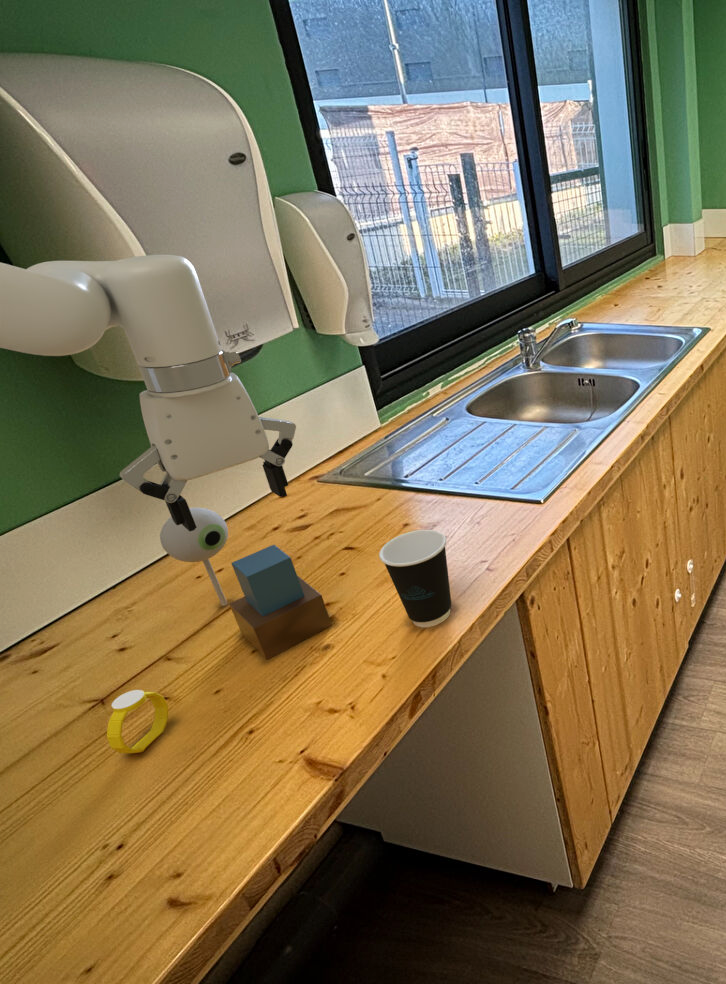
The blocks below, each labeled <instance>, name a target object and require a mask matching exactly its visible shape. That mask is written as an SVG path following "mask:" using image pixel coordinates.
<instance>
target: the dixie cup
mask: <svg viewBox="0 0 726 984" xmlns="http://www.w3.org/2000/svg"><path fill="white" fill-rule="evenodd" d="M446 545H447V537H446V536H445V534H444V533H443V532H441V531H438V530H434V529H416V530H412V531H409V532H404V533H402V534H399V535H397V536H395V537H393V538H392V539H390V540H389V541H387V542H386V543H385V544H384V545H383V546H382V547H381V548H380V550H379V554H378V556H379V560H380V561H381V562H382V563H383V564H384V566H385V568H386V570H387V572H388V574H389V576H390V579H391V581H392V583H393V585H394V588H395V590H396V592H397V594H398V597H399V599H400V602H401V603H402V605H403V608H404V609H405V612H406V614H407V617H408V618H409V619H410V620H411V621H412V623H413V625H415V626H416V627H419V628H431V627H434V626H437V625H439V624H441V623H444V621H446V620H447V619H448V618H449V616H450V615H451V607H452V597H451V587H450V579H449V577H450V576H449V569H448V562H447V550H446Z"/></svg>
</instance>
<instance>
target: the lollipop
mask: <svg viewBox="0 0 726 984" xmlns="http://www.w3.org/2000/svg"><path fill="white" fill-rule="evenodd" d="M189 509H190V512H191V514H192V517H193V519H194V522H195V524H196V527H197V528H195V530H193V531H188V530H187V529H186V528H185V527H184V526H183V525H182V524H180V525H176V524H175V523H174V521H173V519H172V517H171V516H169V518H167V520H166V521H165V522H164V524H163V525H162V527H161V530H160V534H159V540H160V544H161V547H162V549H163V550H164V551H165V553H166V554H168V555H169V556H170V557H171V558H173V559H175V560H178V561H180V562H185V563H198V562H199V563H200V562H202V563H203V565H204V567H205V570H206V572H207V574H208V576H209V579H210V580H211V581H210V582H211V584H212V586H213V588H214V590H215V593H216V595H217V598H218V600H219V602H220V605H221V607H225V606H227V605H228V601H227V598H226V597H225V594H224V591H223V589H222V587H221V584H220V582H219V579H218V578H217V575H216V573H215V570H214V569H213V565H212V564H211V561H210V559H211V558H213V557H214V556H216V555H217V554H219V553H220V552H221V551H222V550H223V548H224V547H225V545H226V544H227V541H228V538H229V529H228V525H227V522H226V521H225V519H224V518H223V517H222V516H221V515H220V514H219V513H217V512H216V511H213V510H212V509H208V508H206V507H205V508H204V507H189Z"/></svg>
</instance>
